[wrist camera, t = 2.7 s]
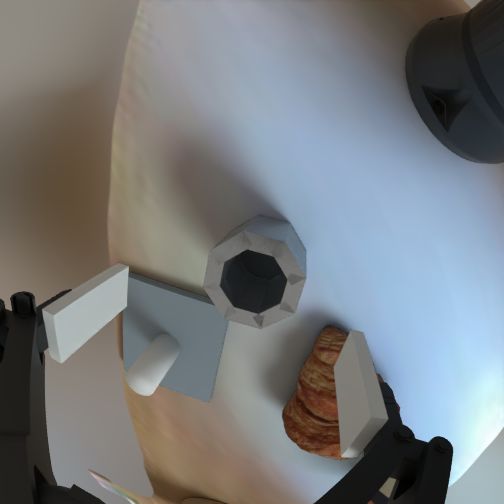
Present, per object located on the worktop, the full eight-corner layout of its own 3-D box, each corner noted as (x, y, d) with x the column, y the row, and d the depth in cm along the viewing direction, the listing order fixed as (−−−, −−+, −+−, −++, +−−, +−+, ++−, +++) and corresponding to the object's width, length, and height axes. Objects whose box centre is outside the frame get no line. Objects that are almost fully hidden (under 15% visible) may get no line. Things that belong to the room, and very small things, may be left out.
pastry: (243, 397, 33) (229, 445, 26) (331, 316, 28) (337, 364, 21) (338, 448, 34) (339, 492, 26) (424, 386, 29) (442, 431, 21)
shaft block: (129, 271, 31) (84, 301, 23) (232, 304, 30) (207, 350, 22) (128, 364, 35) (96, 402, 27) (211, 396, 34) (191, 443, 26)
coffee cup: (379, 455, 33) (386, 519, 22) (423, 458, 32) (435, 514, 21) (349, 482, 36) (349, 539, 25) (391, 485, 35) (397, 536, 24)
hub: (237, 209, 27) (214, 223, 20) (312, 228, 26) (314, 249, 20) (222, 278, 29) (199, 310, 22) (291, 297, 28) (287, 336, 22)
